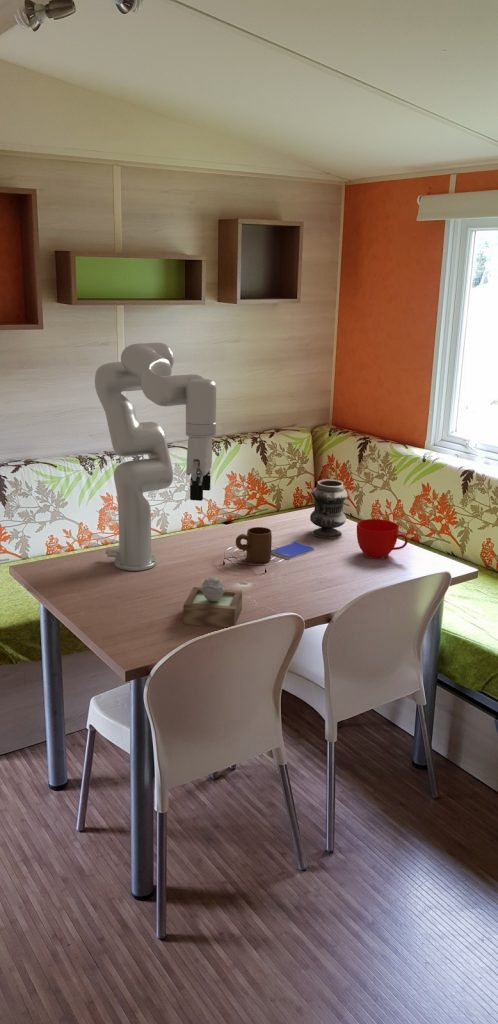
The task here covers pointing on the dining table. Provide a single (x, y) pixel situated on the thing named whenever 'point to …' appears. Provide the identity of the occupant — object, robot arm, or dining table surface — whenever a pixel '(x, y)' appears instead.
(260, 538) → the mug
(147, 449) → the robot arm
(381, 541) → the ceramic cup
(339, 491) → the apothecary jar
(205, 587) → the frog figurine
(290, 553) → the hard drive
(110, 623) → the dining table surface
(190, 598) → the pedestal
